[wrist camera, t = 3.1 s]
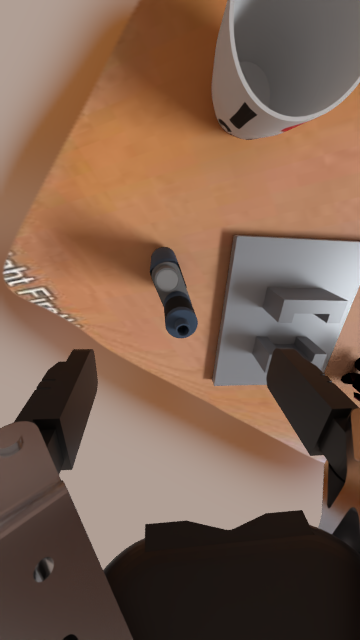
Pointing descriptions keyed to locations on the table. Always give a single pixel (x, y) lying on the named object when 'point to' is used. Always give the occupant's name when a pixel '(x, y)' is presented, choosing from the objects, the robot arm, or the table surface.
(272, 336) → the dock
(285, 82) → the cup
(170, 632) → the robot arm
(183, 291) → the vaping device
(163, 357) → the table surface
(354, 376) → the cat figurine
